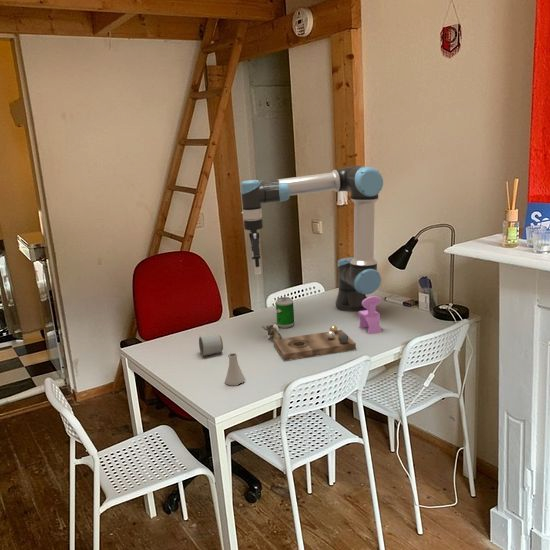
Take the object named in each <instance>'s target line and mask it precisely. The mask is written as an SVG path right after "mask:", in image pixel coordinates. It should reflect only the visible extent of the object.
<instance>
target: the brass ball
mask: <svg viewBox="0 0 550 550" xmlns="http://www.w3.org/2000/svg"><path fill="white" fill-rule="evenodd" d="M337 330H338V327H337V326H336V325H331V326H330V328H329V331H333V332H334V333H336V332H337Z"/></svg>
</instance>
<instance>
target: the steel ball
mask: <svg viewBox="0 0 550 550" xmlns="http://www.w3.org/2000/svg"><path fill="white" fill-rule="evenodd" d="M327 332H328V333H327V337H328V338H329V339H333V338H334V337H335V333H334V332H333V331H330V330H329V331H327Z"/></svg>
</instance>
